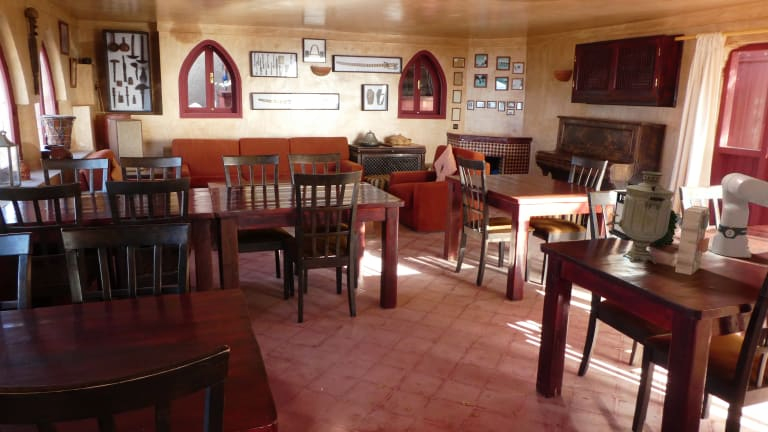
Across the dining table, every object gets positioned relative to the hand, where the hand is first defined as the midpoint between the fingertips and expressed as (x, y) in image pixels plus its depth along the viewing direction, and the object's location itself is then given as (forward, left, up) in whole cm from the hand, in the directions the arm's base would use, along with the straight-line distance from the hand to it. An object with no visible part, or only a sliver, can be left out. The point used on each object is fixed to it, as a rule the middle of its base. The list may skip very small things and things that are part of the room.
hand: (763, 202), depth 229 cm
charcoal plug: (+8, -22, -13) cm, 27 cm away
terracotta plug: (+8, -21, -23) cm, 32 cm away
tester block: (+8, -22, -32) cm, 40 cm away
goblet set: (-59, -50, -32) cm, 84 cm away
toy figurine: (-31, -43, -32) cm, 62 cm away
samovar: (+8, -45, -32) cm, 56 cm away
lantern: (-40, -61, -32) cm, 80 cm away
